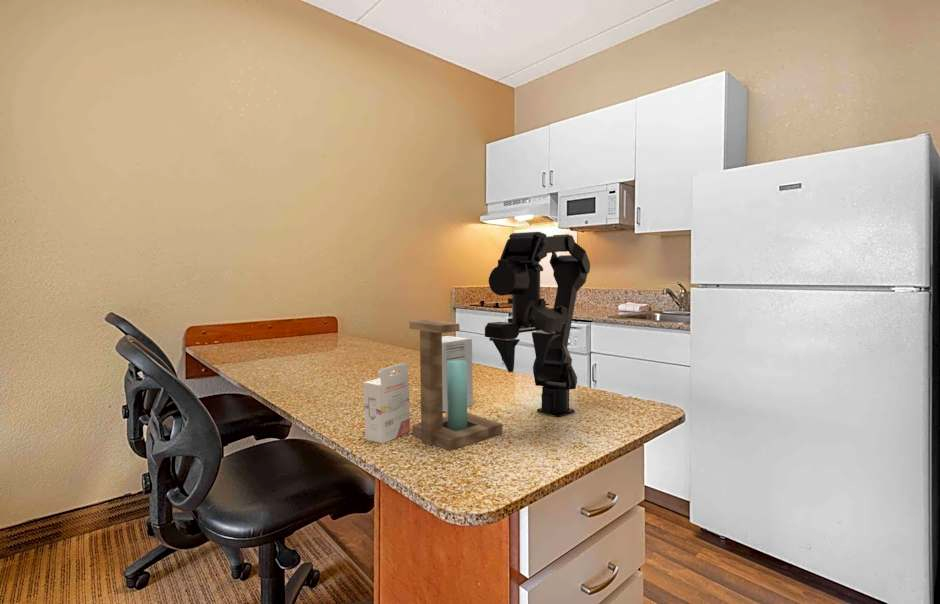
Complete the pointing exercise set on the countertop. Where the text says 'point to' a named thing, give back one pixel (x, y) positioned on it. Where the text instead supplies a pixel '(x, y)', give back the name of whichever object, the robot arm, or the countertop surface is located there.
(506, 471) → the countertop surface
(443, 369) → the supplement box
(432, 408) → the socket stand
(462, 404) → the peg
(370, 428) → the ink cartridge box
